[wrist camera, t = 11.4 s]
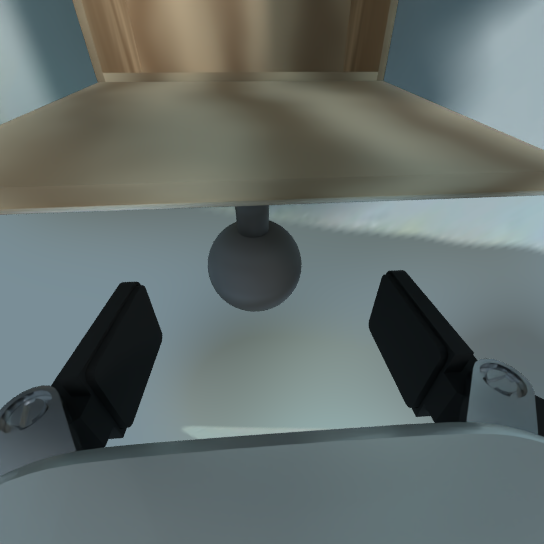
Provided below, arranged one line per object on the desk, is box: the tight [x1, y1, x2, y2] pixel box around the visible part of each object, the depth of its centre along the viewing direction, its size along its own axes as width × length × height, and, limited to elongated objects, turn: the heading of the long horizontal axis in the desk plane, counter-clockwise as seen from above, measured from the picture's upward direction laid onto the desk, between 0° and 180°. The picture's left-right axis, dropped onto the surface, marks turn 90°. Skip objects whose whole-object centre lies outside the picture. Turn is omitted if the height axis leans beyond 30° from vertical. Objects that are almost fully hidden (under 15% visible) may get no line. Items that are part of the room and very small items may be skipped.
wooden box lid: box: [0, 81, 544, 311], centre depth 15 cm, size 20×16×7 cm
